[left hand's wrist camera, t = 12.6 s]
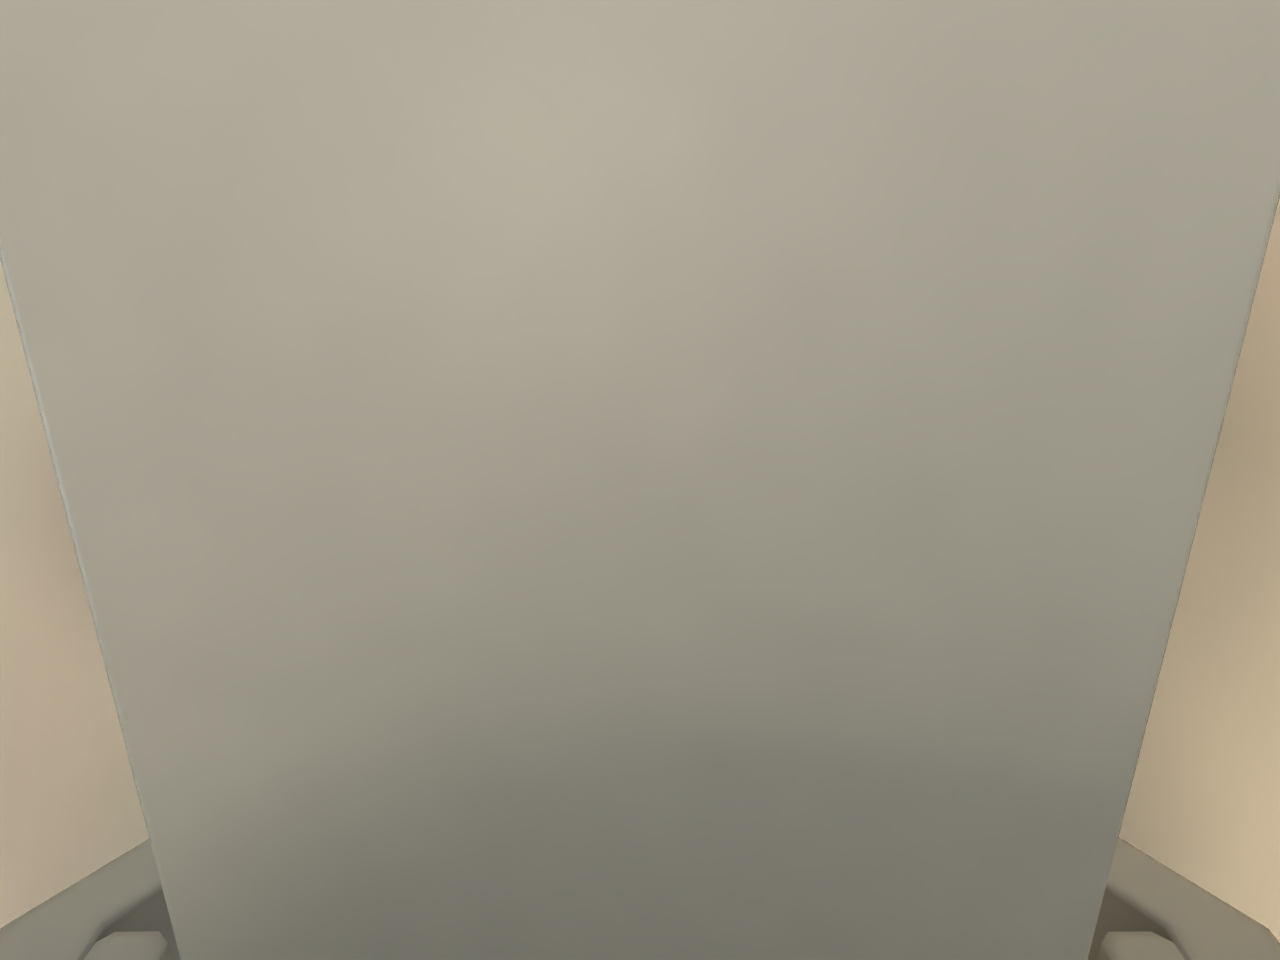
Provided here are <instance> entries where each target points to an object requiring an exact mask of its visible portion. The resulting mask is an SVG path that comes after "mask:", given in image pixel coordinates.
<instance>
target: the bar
mask: <svg viewBox="0 0 1280 960" xmlns="http://www.w3.org/2000/svg"><path fill="white" fill-rule="evenodd" d="M1279 196H1280V0H0V258H1V262H2V266H3V270H4V274H5V278H6V282H7V286H8V290H9V294H10V297H11V301H12V305H13V309H14V313H15V317H16V321H17V325H18V329H19V332H20V336H21V340H22V344H23V348H24V352H25V356H26V360H27V364H28V367H29V371H30V375H31V379H32V383H33V387H34V391H35V395H36V399H37V403H38V406H39V410H40V414H41V418H42V422H43V426H44V430H45V434H46V438H47V441H48V445H49V449H50V453H51V457H52V461H53V465H54V469H55V473H56V476H57V480H58V484H59V488H60V492H61V496H62V500H63V504H64V508H65V511H66V515H67V519H68V523H69V527H70V531H71V535H72V539H73V543H74V547H75V550H76V554H77V558H78V562H79V566H80V570H81V574H82V578H83V582H84V585H85V589H86V593H87V597H88V601H89V605H90V609H91V613H92V617H93V620H94V624H95V628H96V632H97V636H98V640H99V644H100V648H101V652H102V655H103V659H104V663H105V667H106V671H107V675H108V679H109V683H110V687H111V691H112V694H113V698H114V702H115V706H116V710H117V714H118V718H119V722H120V726H121V729H122V733H123V737H124V741H125V745H126V749H127V753H128V757H129V761H130V764H131V768H132V772H133V776H134V780H135V784H136V788H137V792H138V796H139V800H140V803H141V807H142V811H143V815H144V819H145V823H146V827H147V831H148V835H149V838H150V842H151V846H152V850H153V854H154V858H155V862H156V866H157V870H158V873H159V877H160V881H161V885H162V889H163V893H164V897H165V901H166V905H167V908H168V912H169V916H170V920H171V924H172V928H173V932H174V936H175V940H176V944H177V947H178V951H179V955H180V959H181V960H1088V956H1089V952H1090V948H1091V944H1092V940H1093V936H1094V932H1095V928H1096V924H1097V920H1098V916H1099V912H1100V908H1101V904H1102V900H1103V896H1104V892H1105V888H1106V884H1107V880H1108V876H1109V872H1110V868H1111V864H1112V860H1113V856H1114V852H1115V848H1116V844H1117V840H1118V836H1119V832H1120V828H1121V824H1122V820H1123V816H1124V812H1125V808H1126V804H1127V801H1128V797H1129V793H1130V789H1131V785H1132V781H1133V777H1134V773H1135V769H1136V765H1137V761H1138V757H1139V753H1140V749H1141V745H1142V741H1143V737H1144V733H1145V729H1146V725H1147V721H1148V717H1149V713H1150V709H1151V705H1152V701H1153V697H1154V693H1155V689H1156V685H1157V681H1158V677H1159V673H1160V669H1161V665H1162V661H1163V657H1164V653H1165V649H1166V645H1167V642H1168V638H1169V634H1170V630H1171V626H1172V622H1173V618H1174V614H1175V610H1176V606H1177V602H1178V598H1179V594H1180V590H1181V586H1182V582H1183V578H1184V574H1185V570H1186V566H1187V562H1188V558H1189V554H1190V550H1191V546H1192V542H1193V538H1194V534H1195V530H1196V526H1197V522H1198V518H1199V514H1200V510H1201V506H1202V502H1203V498H1204V494H1205V490H1206V486H1207V482H1208V479H1209V475H1210V471H1211V467H1212V463H1213V459H1214V455H1215V451H1216V447H1217V443H1218V439H1219V435H1220V431H1221V427H1222V423H1223V419H1224V415H1225V411H1226V407H1227V403H1228V399H1229V395H1230V391H1231V387H1232V383H1233V379H1234V375H1235V371H1236V367H1237V363H1238V359H1239V355H1240V351H1241V347H1242V343H1243V339H1244V335H1245V331H1246V327H1247V323H1248V320H1249V316H1250V312H1251V308H1252V304H1253V300H1254V296H1255V292H1256V288H1257V284H1258V280H1259V276H1260V272H1261V268H1262V264H1263V260H1264V256H1265V252H1266V248H1267V244H1268V240H1269V236H1270V232H1271V228H1272V224H1273V220H1274V216H1275V212H1276V208H1277V204H1278V200H1279Z"/></svg>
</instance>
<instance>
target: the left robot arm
mask: <svg viewBox="0 0 1280 960" xmlns="http://www.w3.org/2000/svg"><path fill="white" fill-rule="evenodd" d="M0 960H181V959H180V955H179V951H178V947H177V944H176V940H175V936H174V932H173V928H172V924H171V920H170V916H169V912H168V908H167V905H166V901H165V897H164V893H163V889H162V885H161V881H160V877H159V873H158V870H157V866H156V862H155V858H154V854H153V850H152V846H151V842H150V839H148V840H147V841H145V842H143V843H142V844H140V845H138V846H137V847H135V848H133V849H132V850H130V851H128V852H127V853H125V854H123V855H122V856H120V857H118V858H117V859H115V860H113V861H112V862H110V863H108V864H107V865H105V866H103V867H102V868H100V869H98V870H97V871H95V872H93V873H92V874H90V875H88V876H87V877H85V878H83V879H82V880H80V881H78V882H77V883H75V884H73V885H72V886H70V887H68V888H67V889H65V890H63V891H62V892H60V893H58V894H57V895H55V896H54V897H52V898H50V899H49V900H47V901H45V902H44V903H42V904H40V905H39V906H37V907H35V908H34V909H32V910H30V911H29V912H27V913H25V914H24V915H22V916H20V917H19V918H17V919H15V920H14V921H12V922H10V923H9V924H7V925H5V926H4V927H2V928H1V929H0ZM1088 960H1280V943H1279V942H1278V940H1277V939H1276V938H1275V937H1274V935H1273V934H1272V933H1271V931H1270V930H1269V929H1268V928H1266V927H1264V926H1263V925H1261V924H1260V923H1258V922H1256V921H1255V920H1253V919H1251V918H1250V917H1248V916H1246V915H1245V914H1243V913H1242V912H1240V911H1238V910H1237V909H1235V908H1233V907H1232V906H1230V905H1228V904H1227V903H1225V902H1224V901H1222V900H1220V899H1219V898H1217V897H1215V896H1214V895H1212V894H1210V893H1209V892H1207V891H1205V890H1204V889H1202V888H1201V887H1199V886H1197V885H1196V884H1194V883H1192V882H1191V881H1189V880H1187V879H1186V878H1184V877H1183V876H1181V875H1179V874H1178V873H1176V872H1174V871H1173V870H1171V869H1169V868H1168V867H1166V866H1164V865H1163V864H1161V863H1160V862H1158V861H1156V860H1155V859H1153V858H1151V857H1150V856H1148V855H1146V854H1145V853H1143V852H1142V851H1140V850H1138V849H1137V848H1135V847H1133V846H1132V845H1130V844H1128V843H1127V842H1125V841H1123V840H1122V839H1120V838H1119V837H1118V840H1117V844H1116V848H1115V852H1114V856H1113V860H1112V864H1111V868H1110V872H1109V876H1108V880H1107V884H1106V888H1105V892H1104V896H1103V900H1102V904H1101V908H1100V912H1099V916H1098V920H1097V924H1096V928H1095V932H1094V936H1093V940H1092V944H1091V948H1090V952H1089V956H1088Z"/></svg>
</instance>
